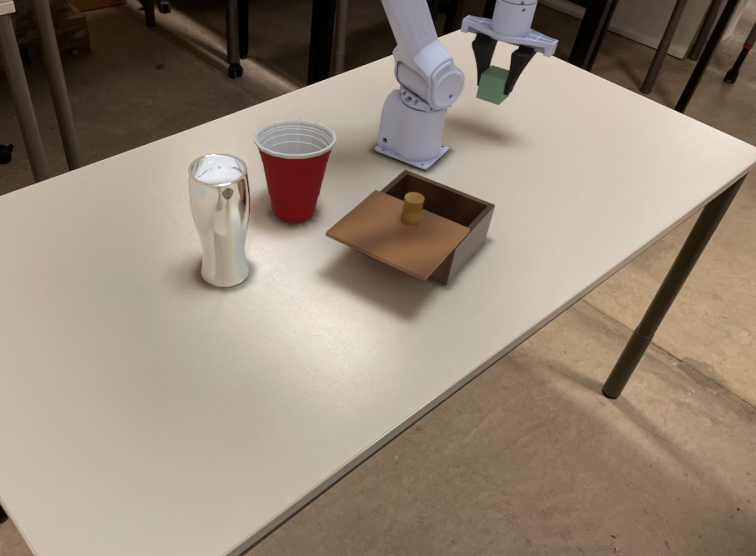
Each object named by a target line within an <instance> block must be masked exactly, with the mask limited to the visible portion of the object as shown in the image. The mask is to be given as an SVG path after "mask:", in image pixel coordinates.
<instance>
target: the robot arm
mask: <svg viewBox="0 0 756 556" xmlns="http://www.w3.org/2000/svg"><path fill="white" fill-rule="evenodd" d="M380 1H381V4H382V7H383V9H384V12H385V15H386V17H387V20H388V23H389V25H390V29H391V31H392V34H393V36H394V39H395V42H396V44H397V45H396V46H395V47H394V49H393V51H392V52H391V53H392V57H393V59H394V68H393V69H394V70H393V73H394V78H395V81H396V83H398V84H399V89H398V88H395V89H393V90H391V91H390V93H389V94H388V95H387V97H386V98H385V100H384V103H383V106H382V109H381V114H380V122H379V129H378V130H379V131H378V136H377V143H376V144H377V145H376V146H374V151H375V152H377V153H380V154H382V155H384V156H388V157H390V158H393V159H395V160H398V161H400V162H402V163H406V164H408V165H410V166H413V167H416V168H418V169H421V170H424V171H427V170H428V169H429V168H430V167H432V166H433V164H435V163H436V162H437V161H438V160H439V159H441V157H443V156H444V155H445V154H446V153H447V152H448V151H449V149H450V148H449V146H447V145H444V144H442V143H441V142H442V137H443V133H444V127H445V123H446V117H447V113H448V109H450V108H452V106H453V104H454V103H455V102H457V100H458V99H459V98H460V96H461V94H462V92H463V89H464V87H465V79H466V78H465V74H464V71H463V70H462V68H460V67H458V66H457V65H456V64H455V62H454V58H453V56H452V54H451V53H450V52H449V51H448V49H447V48H446V47H445V46H444V44H443V43H442V42H441V40H440V39H439V37H438V34H437V31H436V28H435V25H434V22H433V18H432V14H431V12H430V8H429V5H428V2H427V0H380ZM538 1H539V0H496V1H495V5H494V9H493V15H492V18H486V17H478V16H474V15H470V14H468V15H467V16H465V17H463V18H462V22H461V27H460V32H461V33H465V34H468V33H471V34H475V37H474V39H473V40H472V41H471V49H472V52H473V55H474V59H475V66H476V86H477V87H478V86H479V82H480V78H481V74H482V73H483V72H484V71H485V70H487V69H488V68H489V67H490V66H491V65H492V64H491V63H492V60H493V56H494V53H495V50H496V47H497V44H498V42H502V43H505V44H508V45H513V46H516V47H518V48H516V49H515V50H514V51H512V52H511V54H510V63H509V69H508V70H509V74H508V78H507V81H506V84H505V89H504V95H509V96H510V94H511V93H512V92H513V91H514V88H515V86H516V83H517V81H518V80H519V79H520V76H521V74H522V73H523V72H524V70H525V68H527V66H528V65H529V63H530V62H531V60H532V59H533V58H534V57H535V55H536V54H538V53H540V54H542V56H544V57H547V58H551V57H552V56H553V55H554V54H555V53H556V49H557V46H558V43H559V40H558V39H555V38H553V37H550V36H547V35H545V34H543V33H541V32H539V31H536V30H534V29H532V28H531V27H532V24H533V23H532V22H533V19H534V16H535V12H536V9H537V5H538Z"/></svg>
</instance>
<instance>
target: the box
mask: <svg viewBox="0 0 756 556" xmlns="http://www.w3.org/2000/svg"><path fill="white" fill-rule="evenodd" d="M379 191H380V192H383V193H385V194H388V195H390V196H393V197H395V198H397V199H400V200H402V201H404V198H405V195H406V194H407V193H410V192H416V193H420V194H421V195H423V196H424V204H423V209H424V210H426V211H429V212H431V213H434V214H436V215H438V216H441V217H443V218H446V219H448V220H450V221H453V222H455V223H458V224H460V225H462V226H465V227H467V228H470V231H469V233H468V234H467V235H466V236H465V237H464V238H463V240H462V241H461V242H460V243H459V244H458V245H457V246H456V247H455V248H454V249H453V251H452V252H451V253H450V254H449V255H448V256H447V257H446V258H445V259H444V260H443V261H442V263H441V264H440V265H439V266H438V267H437V268H436V269H435V270H434V271H433V272H432V274H431V275H430V276H429V277H428V278H430V279H433V280H435V281H437V282H439V283H441V284H444V285H445V286H447V285H448V284H449V283H450V282H451V281H452V279H454V277H455V276H456V275H457V274H458V272H459V271H460V270H461V269H462V268H463V267H464V266H465V264H466V263H467V262H468V261H469V260H470V259H471V258H472V256H473V255H475V254H476V252H477V251H478V250H479V248H480V247H481V246H482V245H483V244H484V243H485V241H486V239H487V236H488V232H489V228H490V225H491V222H492V218H493V215H494V211H495V208H496V204H495V203H492V202H489V201H487V200H484V199H481V198H479V197H476V196H473V195H471V194H468V193H467V192H463V191H461V190H459V189H456V188H453V187H451V186H448V185H446V184H444V183H441V182H438V181H435V180H433V179H431V178H428V177H425V176H423V175H420V174H417V173H416V172H413V171H410V170H408V169H404V170H403V171H401V172H400V173H399V174H398V175H397V176H396V177H395V178H393V179H392V180H391V181H390V182H389V183H388V184H387V185H386V186H384V187H382V189H380V190H379Z"/></svg>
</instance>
